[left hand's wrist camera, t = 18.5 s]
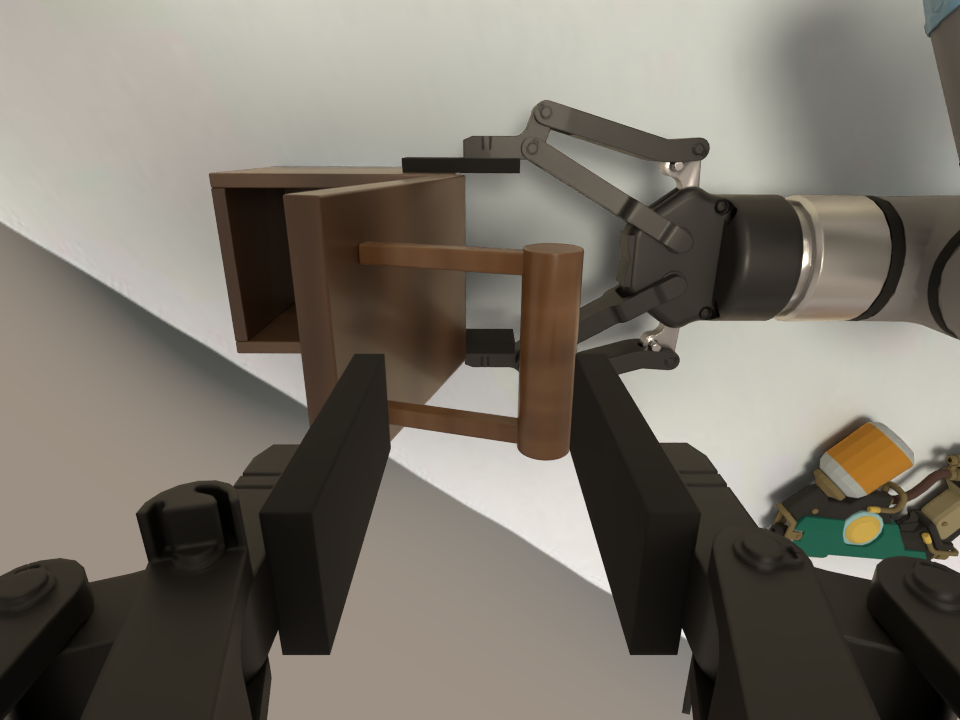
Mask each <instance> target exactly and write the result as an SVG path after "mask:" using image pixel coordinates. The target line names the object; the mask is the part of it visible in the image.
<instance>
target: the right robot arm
mask: <svg viewBox="0 0 960 720" xmlns="http://www.w3.org/2000/svg"><path fill="white" fill-rule="evenodd" d="M923 4H924V12H925V21H926V22H925V26H924V28H925V33H926V35H927V36H928V37H931V41H932V45H933V49H934V53H935V58H936V62H937V66H938V71H939V75H940V79H941V84H942V88H943V92H944V96H945V101H946V105H947V109H948V114H949V118H950V122H951V127H952V131H953V135H954V139H955V144H956V148H957V152H958V157H959V161H960V0H923ZM550 130H553V131H556V132H560V133H563V134H566V135H569V136H572V137H575V138H578V139H581V140H584V141H587V142H590V143H594V144H597V145H600V146H603V147H606V148H609V149H612V150H615V151H618V152H621V153H625V154H628V155H631V156H634V157H637V158H640V159H644V160H648V161H657V162H660V171H661V172H662V173H663V174H664V175H666V176H670V177H672V178H674V179H675V181H676V183H677V188H675V189H673V190H672V191H670V192H669V193H667V194H666V195H665V196H663V197H662V198H660V199H659V200H657V201H656V202H654V203H653V204H651V205H650V206H649V207H647V206H645V205H644V204H642V203H640V202H639V201H637V200H635V199H634V198H632V197H630V196H628V195H627V194H625V193H624V192H622V191H621V190H619V189H617V188H616V187H614V186H613V185H611V184H610V183H608V182H607V181H605V180H603V179H602V178H600V177H599V176H597V175H596V174H594V173H592V172H591V171H589V170H588V169H586V168H585V167H583V166H581V165H580V164H578V163H577V162H575V161H574V160H572V159H570V158H569V157H567V156H566V155H564V154H563V153H561V152H559V151H558V150H556V149H555V148H553V147H552V146H550V145H549V144H547V143H545V142H546V140H547V137H548V134H549V132H550ZM463 148H464V158H446V157H406V158H402V172H455V173H520V159H527V160H528V161H530V162H532V163H533V164H535V165H536V166H538V167H540V168H541V169H543V170H544V171H546V172H548V173H549V174H551V175H552V176H554V177H556V178H557V179H559V180H560V181H562V182H564V183H565V184H567V185H568V186H570V187H572V188H573V189H575V190H576V191H578V192H579V193H581V194H583V195H584V196H586V197H587V198H589V199H591V200H592V201H594V202H595V203H597V204H599V205H600V206H602V207H603V208H605V209H607V210H608V211H610V212H611V213H613V214H614V215H616V216H617V217H619V218H621V219H622V220H624V221H625V222H627V224H626V226H625V228H624V230H621V236H620V247H621V252H622V257H621V260H620V263H619V265H618V268H617V279H616V280H617V281H618V282H619V285H617V286H615V287H614V288H612V289H610V290H608V291H606V292H605V293H604V294H603V296H601V297H600V298H598V299H596V300H594V301H592V302H591V303H589V304H587V305H585V306H583V307H581V308H580V313H579V327H578V342H577V344H579V343H580V342H582V341H584V340H586V339H588V338H590V337H592V336H594V335H596V334H598V333H600V332H602V331H604V330H605V329H607V328H609V327H611V326H613V325H615V324H617V323H624V322H627V321H629V320H631V319H633V318H635V317H637V316H639V315H641V314H643V313H645V312H647V313H649V314H650V315H651V316H653V317H654V318H655V319H657V320H658V321H659V322H660V323H659V325H658V327H657V328H656V329H654V330H652V331H647V332H645V333H643V334H642V336H641V338H640V339H628V340H623V341H619V342H615V343H611V344H608V345H604V346H600V347H596V348H593V349H589V350H585V351H581V352H577V354H606V356H607V357H608V359H609V361H610V362H611V364H612V366H613V367H614V369H615V370H616V372H617V374H622V373H626V372H630V371H634V370H638V369H641V368H645V369H660V370H672V369H674V368H676V367H677V366H678V364H679V362H680V358H679V356H678V355H677V354H676V353H675V347H676V342H677V337H678V332H679V328H680V327H683V326H685V325H687V324H689V323H691V322H694V321H699V320H709V321H766V320H769V319H771V318H774V319H776V320H779V321H840V320H844V321H903V322H912V323H917V324H921V325H924V326H926V327H929V328H931V329H934V330H936V331H939V332H941V333H944V334H946V335H949V336H951V337H954V338H956V339H959V340H960V196H897V197H875V196H856V195H791V196H789V197H787V198H783V197H782V196H779V195H715V194H709V193H707V192H706V191H704V190H703V189H701V188H699V181H700V167H701V160H703V159H704V158H705V157H706V156H707V155H708V153H709V149H710V147H709V143H708V141H707V140H705V139H704V138H681V139H665V138H662V137H659V136H656V135H653V134H650V133H647V132H644V131H641V130H638V129H635V128H632V127H628V126H625V125H622V124H619V123H616V122H613V121H610V120H607V119H604V118H601V117H598V116H595V115H592V114H589V113H586V112H583V111H580V110H577V109H574V108H571V107H568V106H565V105H562V104H558V103H555V102H552V101H549V100H544V101H541V102H540V103H538V104H537V105H536V106H535V107H534V108H533V110H532V112H531V116H530V119H529V121H528V124H527V127H526V129H525V131H524V132H523V133H522V134H520V135H518V136H471V137H469V138H467V139H464V140H463ZM959 166H960V163H959ZM519 360H520V340H519V341H518V342H515V339H514V333H513V329H466V360H465V364H466V365H469V366H472V367H512V368H515V369H516V370H518V371H519Z"/></svg>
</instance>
